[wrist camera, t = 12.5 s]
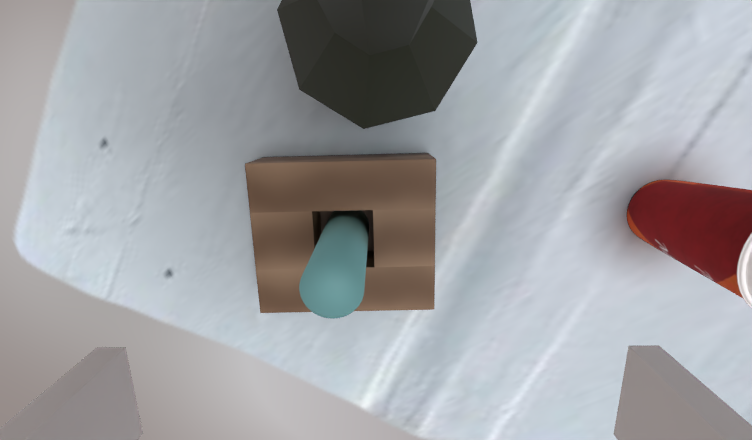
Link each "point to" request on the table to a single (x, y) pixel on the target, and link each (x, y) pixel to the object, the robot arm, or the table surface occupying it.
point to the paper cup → (699, 229)
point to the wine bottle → (377, 53)
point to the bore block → (345, 193)
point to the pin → (337, 266)
